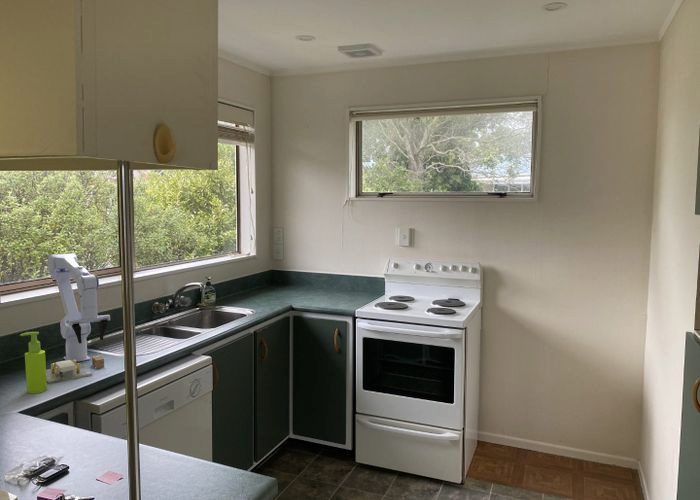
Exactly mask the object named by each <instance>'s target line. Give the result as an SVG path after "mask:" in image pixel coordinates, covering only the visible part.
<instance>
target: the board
mask: <svg viewBox="0 0 700 500" xmlns="http://www.w3.org/2000/svg"><path fill="white" fill-rule="evenodd" d="M54 363H55V367H58V370H59V371H60V372H65V371H70V370H76V365H75V364H74V363H73V362H72V361H71V360H61V361H56V362H54Z"/></svg>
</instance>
